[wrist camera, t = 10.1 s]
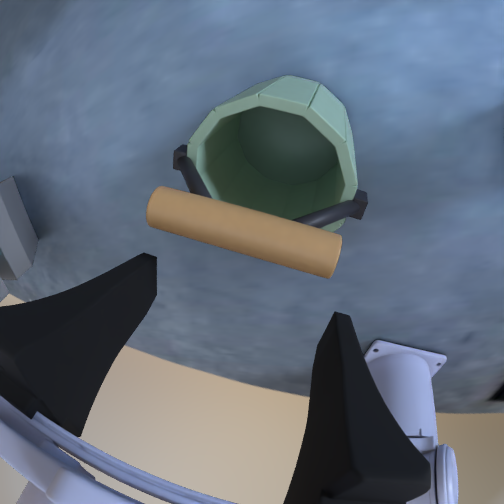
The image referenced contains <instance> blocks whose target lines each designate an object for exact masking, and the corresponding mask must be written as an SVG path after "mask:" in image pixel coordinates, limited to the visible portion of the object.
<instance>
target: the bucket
mask: <svg viewBox="0 0 504 504" xmlns="http://www.w3.org/2000/svg"><path fill="white" fill-rule="evenodd" d="M173 169H175V170H180V171H181V172H182V175H183V177H184V179H185V181H186V184H187V186H188V188H189V191H190V193H188V192H185V191H181V190H177V189H173V188H168V187H164V186H160V187H157V188H156V189H155V190H154V192H153V193H152V195H151V197H150V199H149V202H148V206H147V211H146V220H147V223H148V225H149V226H150V227H153V228H157V229H160V230H163V231H167V232H170V233H173V234H177V235H180V236H184V237H187V238H190V239H194V240H197V241H201V242H204V243H207V244H211V245H214V246H218V247H221V248H224V249H228V250H231V251H235V252H238V253H241V254H245V255H248V256H252V257H255V258H258V259H262V260H265V261H269V262H272V263H276V264H279V265H282V266H286V267H289V268H293V269H296V270H300V271H303V272H306V273H310V274H313V275H317V276H320V277H324V278H327V279H328V278H330V277H331V276H332V274H333V272H334V270H335V268H336V265H337V262H338V259H339V256H340V251H341V246H342V236H341V235H339V234H336V233H333V232H334V231H336V230H337V229H338V228H340V227H341V226H342V224H344V222H345V220H346V217H348V216H349V217H353V218H356V219H359V220H361V218H362V216H363V214H364V211H365V209H366V206H367V204H368V199H367V193H366V192H364V191H361V190H358V189H357V184H358V183H357V172H356V161H355V152H354V143H353V134H352V131H351V127H350V123H349V120H348V116H347V112H346V109H345V107H344V105H343V104H342V103H341V102H340V101H339V100H338V99H337V98H336V97H335V96H334V95H333V94H332V93H331V92H330V91H329V90H328V89H327V88H325V87H324V86H323V85H322V84H319V82H316V81H312V80H308V79H304V78H300V77H295V76H291V75H288V76H287V75H284V76H281V77H278V78H274V79H271V80H268V81H264V82H261V83H258V84H256V85H254V86H252V87H251V88H249V89H247V90H245V91H243V92H241V93H240V94H238V95H236V96H234V97H232V98H231V99H229V100H227V101H225V102H224V103H222V104H220V105H219V106H217V107H215V108H214V109H213V110H211V112H210V113H209V114H208V116H207V117H206V118H205V119H204V121H203V122H202V123H201V125H200V126H199V127H198V129H197V130H196V131H195V133H194V134H193V135H192V137H191V138H190V139H189V143H188V145H181V146H180V147H178V148H177V149H176V150H175V151H174V158H173Z"/></svg>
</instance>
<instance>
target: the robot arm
mask: <svg viewBox="0 0 504 504" xmlns="http://www.w3.org/2000/svg"><path fill="white" fill-rule="evenodd" d="M156 295H157V257H155V256H152V255H149V254H146V253H142V254H140V255H138V256H136V257H134V258H132V259H130V260H128V261H126V262H125V263H123V264H121V265H119V266H117V267H115V268H113V269H111V270H110V271H108V272H106V273H104V274H102V275H100V276H98V277H96V278H94V279H92V280H89V281H87V282H85V283H83V284H81V285H79V286H76V287H74V288H72V289H69V290H66V291H64V292H61V293H58V294H55V295H52V296H49V297H45V298H42V299H39V300H35V301H31V302H26V303H22V304H16V305H10V306H2V307H0V457H1V458H2V459H3V460H5V461H6V462H7V463H8V464H9V465H10V466H12V467H13V468H14V469H15V470H16V471H18V472H19V473H20V474H21V475H22V476H24V477H25V478H26V479H28V480H29V482H28V483H27V485H26V487H25V489H24V490H23V492H22V494H21V496H20V498H19V499H18V501H17V503H16V504H144V503H142V502H139V501H137V500H135V499H133V498H131V497H128V496H126V495H124V494H122V493H120V492H118V491H116V490H114V489H111V488H110V487H108V486H106V485H104V484H102V483H100V482H98V481H96V480H95V477H94V476H93V475H91V474H90V473H89V472H87V471H86V470H85V469H84V468H83V467H82V466H81V465H80V463H79V462H78V461H76V460H75V459H73V458H72V457H70V456H69V455H68V454H66V453H65V452H63V451H62V450H61V449H63V450H65V451H66V452H68V453H69V454H71V455H73V456H74V457H76V458H77V459H79V460H81V461H83V462H84V463H86V464H88V465H90V466H91V467H93V468H95V469H97V470H99V471H101V472H103V473H104V474H106V475H108V476H110V477H112V478H114V479H116V480H118V481H120V482H122V483H124V484H126V485H129V486H131V487H133V488H135V489H137V490H140V491H142V492H144V493H146V494H149V495H151V496H154V497H156V498H159V499H161V500H164V501H166V502H169V503H171V504H237V503H233V502H230V501H226V500H222V499H219V498H215V497H212V496H209V495H206V494H202V493H199V492H196V491H193V490H191V489H188V488H185V487H182V486H179V485H177V484H174V483H171V482H169V481H166V480H164V479H161V478H159V477H156V476H154V475H151V474H149V473H147V472H145V471H142V470H140V469H138V468H136V467H133V466H131V465H129V464H127V463H125V462H123V461H121V460H119V459H117V458H115V457H113V456H111V455H109V454H107V453H105V452H103V451H101V450H99V449H97V448H96V447H94V446H92V445H90V444H88V443H86V442H85V441H83V440H81V439H80V438H78V437H80V436H81V434H82V431H83V428H84V426H85V423H86V420H87V417H88V415H89V412H90V410H91V407H92V405H93V402H94V400H95V398H96V396H97V393H98V391H99V389H100V387H101V385H102V383H103V381H104V379H105V376H106V375H107V373H108V371H109V369H110V367H111V365H112V363H113V362H114V360H115V358H116V357H117V355H118V353H119V352H120V350H121V349H122V348H123V346H124V345H125V343H126V342H127V341H128V339H129V338H130V336H131V335H132V334H133V332H134V331H135V330H136V328H137V327H138V325H139V324H140V323H141V321H142V320H143V318H144V317H145V315H146V314H147V312H148V310H149V309H150V307H151V305H152V303H153V301H154V299H155V297H156ZM446 361H447V358H446V356H445V355H441V354H437V353H432V352H428V351H423V350H419V349H415V348H410V347H406V346H402V345H398V344H393V343H389V342H385V341H381V340H376V341H374V342H373V343H372V345H371V346H370V348H369V349H368V351H367V352H366V354H365V355H363V353H362V350H361V347H360V344H359V342H358V339H357V336H356V333H355V330H354V327H353V324H352V320H351V318H350V316H349V315H346V314H342V313H338V312H334V314H333V316H332V318H331V320H330V322H329V324H328V326H327V328H326V330H325V332H324V334H323V336H322V338H321V339H320V341H319V343H318V345H317V350H316V354H315V359H314V364H313V370H312V380H311V390H310V400H309V410H308V418H307V424H306V429H305V434H304V437H303V441H302V445H301V449H300V453H299V457H298V460H297V464H296V468H295V471H294V474H293V477H292V480H291V483H290V486H289V490H288V492H287V495H286V498H285V500H284V503H283V504H458V476H457V475H458V474H457V465H456V459H455V454H454V451H453V449H452V448H450V447H449V446H447V444H443V445H439V444H438V438H437V426H436V415H435V406H434V398H433V391H432V384H431V378H432V377H433V376H434V374H435V373H436V372H437V371H438V370H439V369H440V368H441V367H442V365H443V364H444V363H445V362H446ZM59 447H60V448H61V449H59Z"/></svg>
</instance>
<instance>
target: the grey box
mask: <svg viewBox="0 0 504 504" xmlns="http://www.w3.org/2000/svg"><path fill="white" fill-rule="evenodd" d="M38 241H39V240H38V238H37V236H36V233H35V231H34V229H33V226H32V224H31V222H30V219H29V217H28V215H27V212H26V210H25V207H24V205H23V202H22V199H21V197H20V194H19V191H18V189H17V186H16V183H15V180H14V178H13V176H12V177H10V178H8V179H6V180H4V181H2V182H0V302H1V301H2V300H3V299H4V298H5V297H6V296H7V295H8V294H9V291H8V289H7V288H6V286H5V284H4V282H3V280H18V279H19V278H20V277H21V276H22V275H23V274H24V273H25V272H26V271H28V270H29V269H30V268H31V267H32V265H33V261H34V257H35V253H36V249H37V245H38Z"/></svg>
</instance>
